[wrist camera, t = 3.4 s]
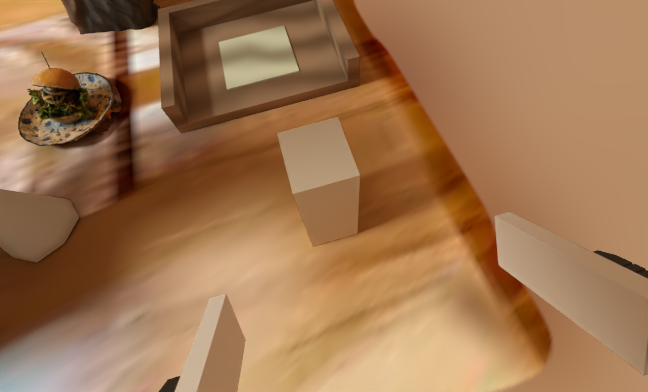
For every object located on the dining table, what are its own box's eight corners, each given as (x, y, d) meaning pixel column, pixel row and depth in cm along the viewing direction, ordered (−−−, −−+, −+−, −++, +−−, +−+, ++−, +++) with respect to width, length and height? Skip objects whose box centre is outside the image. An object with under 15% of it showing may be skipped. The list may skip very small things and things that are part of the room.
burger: (15, 123, 40) (-52, 77, 33) (94, 69, 43) (47, 18, 37) (58, 172, 36) (-9, 131, 29) (141, 108, 39) (98, 59, 33)
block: (357, 233, 29) (360, 175, 19) (312, 246, 29) (292, 194, 19) (342, 189, 32) (337, 116, 22) (300, 200, 31) (277, 132, 22)
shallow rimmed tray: (359, 85, 38) (359, 56, 34) (181, 133, 37) (161, 108, 33) (320, 0, 46) (317, -31, 42) (174, 37, 45) (157, 9, 41)
